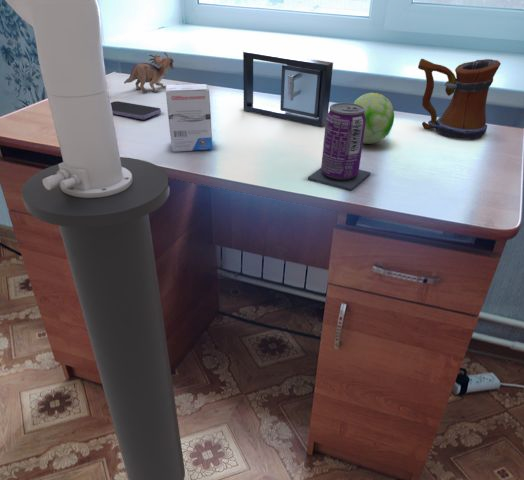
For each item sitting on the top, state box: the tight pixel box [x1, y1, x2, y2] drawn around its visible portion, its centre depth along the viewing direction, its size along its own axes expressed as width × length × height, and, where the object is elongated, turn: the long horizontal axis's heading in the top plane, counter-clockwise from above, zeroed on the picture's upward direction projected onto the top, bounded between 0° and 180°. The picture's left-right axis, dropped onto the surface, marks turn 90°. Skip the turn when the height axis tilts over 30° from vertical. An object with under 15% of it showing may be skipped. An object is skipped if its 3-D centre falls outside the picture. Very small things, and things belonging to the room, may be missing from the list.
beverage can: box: [320, 102, 366, 180], centre depth 92 cm, size 7×7×12 cm
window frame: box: [242, 49, 334, 128], centre depth 119 cm, size 3×22×13 cm, turn 58°
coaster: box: [307, 167, 372, 192], centre depth 96 cm, size 9×9×1 cm
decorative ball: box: [353, 92, 395, 145], centre depth 108 cm, size 10×10×10 cm
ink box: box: [165, 83, 213, 153], centre depth 103 cm, size 8×5×12 cm, turn 100°
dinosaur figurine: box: [123, 52, 175, 94], centre depth 136 cm, size 14×6×9 cm, turn 101°
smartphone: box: [111, 100, 162, 121], centre depth 124 cm, size 7×1×15 cm
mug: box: [417, 58, 501, 141], centre depth 113 cm, size 18×12×15 cm, turn 77°
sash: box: [279, 64, 322, 118], centre depth 115 cm, size 6×10×10 cm, turn 58°
